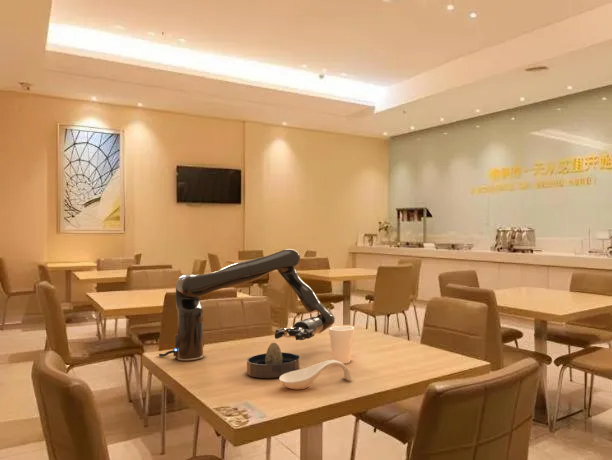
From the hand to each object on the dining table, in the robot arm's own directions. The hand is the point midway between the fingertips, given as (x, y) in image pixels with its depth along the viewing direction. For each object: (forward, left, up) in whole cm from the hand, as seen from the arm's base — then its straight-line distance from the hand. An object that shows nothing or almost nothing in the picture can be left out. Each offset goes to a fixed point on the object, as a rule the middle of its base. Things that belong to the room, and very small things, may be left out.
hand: (286, 336), depth 199 cm
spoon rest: (+21, -19, -11) cm, 31 cm away
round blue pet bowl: (0, -9, -11) cm, 14 cm away
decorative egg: (0, -9, -11) cm, 14 cm away
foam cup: (+18, +11, -11) cm, 24 cm away
